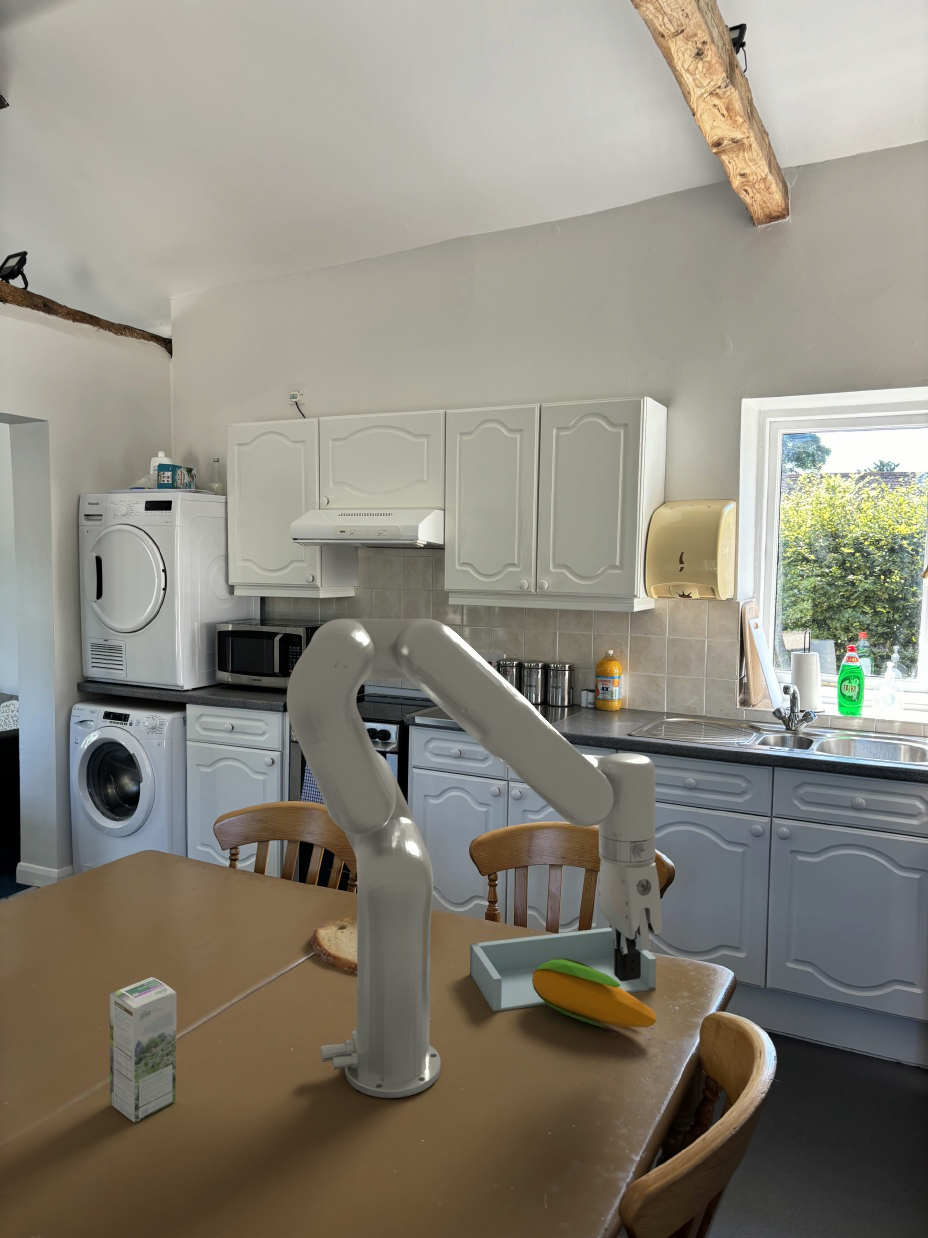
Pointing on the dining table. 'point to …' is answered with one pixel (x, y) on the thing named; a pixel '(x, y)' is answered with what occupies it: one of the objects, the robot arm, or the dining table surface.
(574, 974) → the corn
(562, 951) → the tray
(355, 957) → the slice of bread
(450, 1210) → the dining table surface
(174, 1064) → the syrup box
